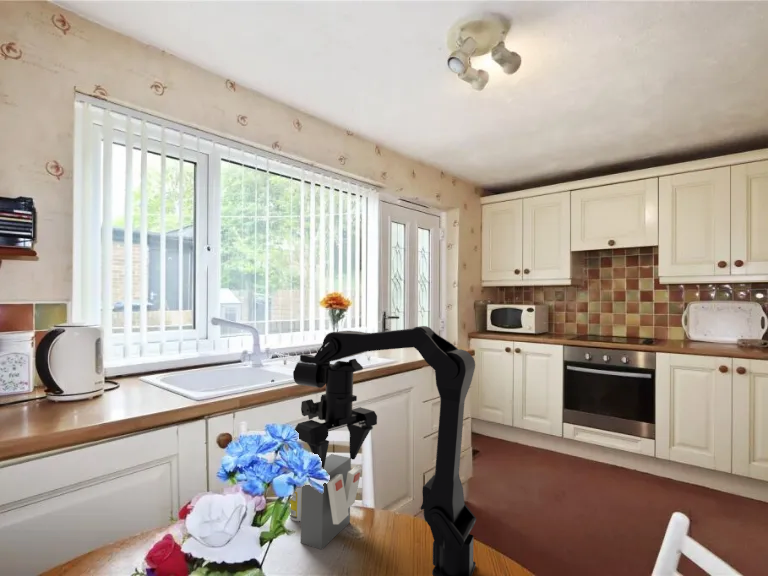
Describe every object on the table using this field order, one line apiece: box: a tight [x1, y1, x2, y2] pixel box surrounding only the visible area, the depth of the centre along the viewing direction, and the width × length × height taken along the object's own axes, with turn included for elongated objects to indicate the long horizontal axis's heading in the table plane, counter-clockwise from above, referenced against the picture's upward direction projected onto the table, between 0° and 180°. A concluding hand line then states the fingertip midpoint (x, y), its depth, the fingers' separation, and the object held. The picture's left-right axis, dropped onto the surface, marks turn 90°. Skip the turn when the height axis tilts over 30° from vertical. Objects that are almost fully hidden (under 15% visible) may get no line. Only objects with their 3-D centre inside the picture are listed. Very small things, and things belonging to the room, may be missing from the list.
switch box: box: [300, 453, 352, 550], centre depth 87 cm, size 5×11×14 cm, turn 155°
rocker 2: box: [345, 464, 363, 508], centre depth 87 cm, size 2×4×8 cm, turn 154°
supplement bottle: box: [289, 487, 302, 522], centre depth 93 cm, size 5×5×10 cm
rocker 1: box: [327, 474, 349, 524], centre depth 82 cm, size 2×4×8 cm, turn 155°
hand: (337, 464), depth 87 cm, fingers open, 9 cm apart
